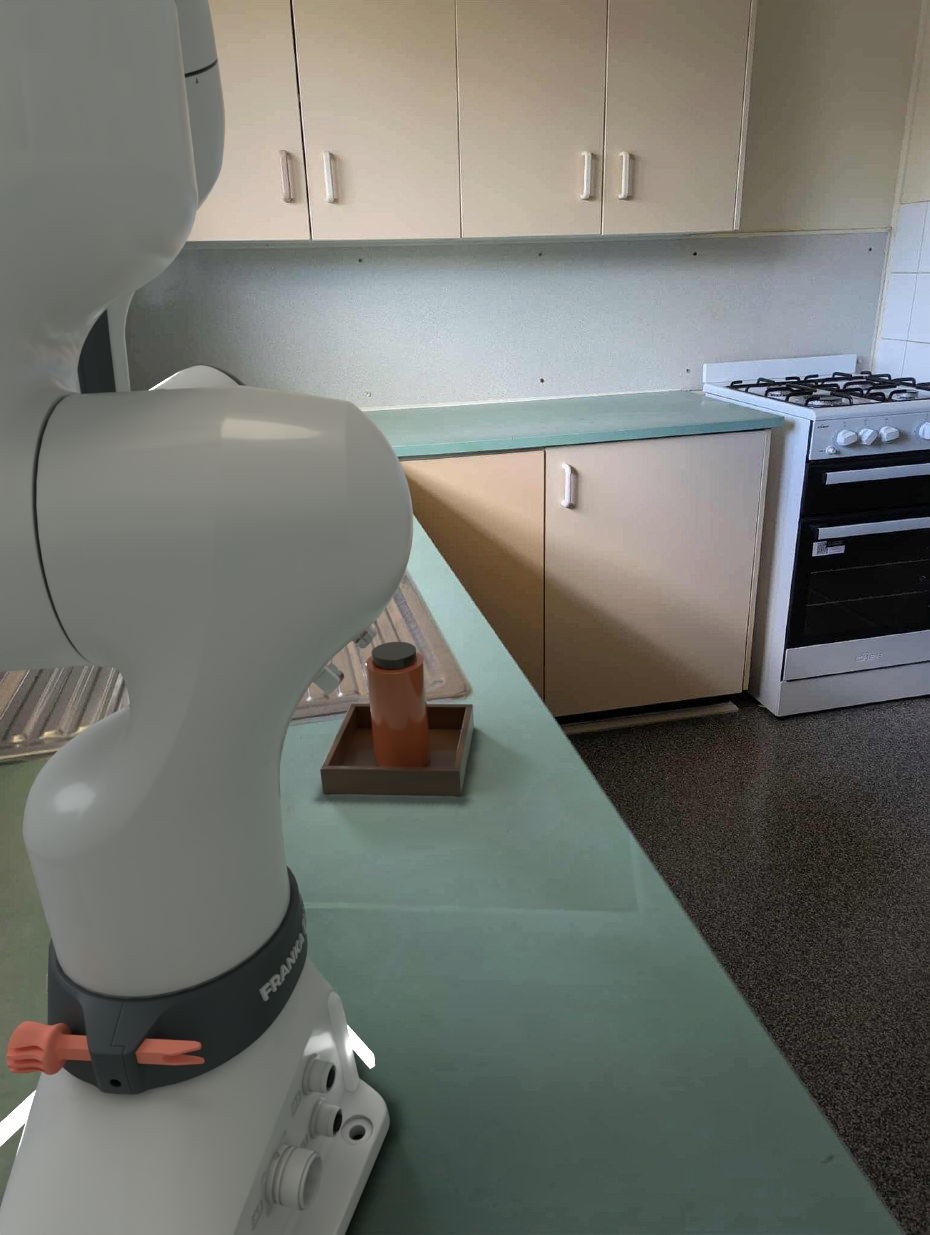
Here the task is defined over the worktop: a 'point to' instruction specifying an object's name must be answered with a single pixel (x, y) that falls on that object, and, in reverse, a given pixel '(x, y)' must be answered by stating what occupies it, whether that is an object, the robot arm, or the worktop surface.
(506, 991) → the worktop surface
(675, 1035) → the worktop surface
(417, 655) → the spice jar
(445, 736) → the tray
